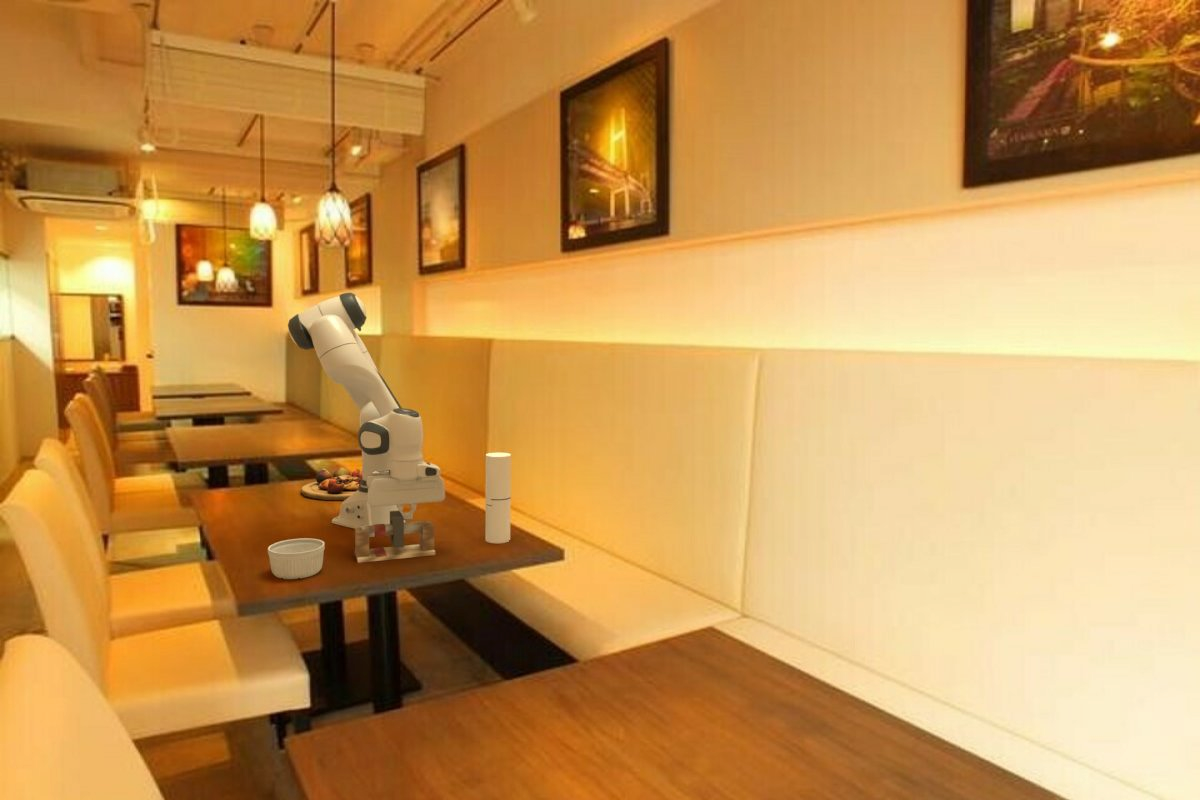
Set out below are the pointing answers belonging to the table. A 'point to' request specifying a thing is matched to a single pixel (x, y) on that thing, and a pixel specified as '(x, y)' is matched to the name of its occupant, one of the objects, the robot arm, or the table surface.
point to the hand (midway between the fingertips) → (406, 519)
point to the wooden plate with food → (333, 485)
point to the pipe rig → (390, 552)
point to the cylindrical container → (498, 497)
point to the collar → (397, 529)
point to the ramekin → (296, 558)
